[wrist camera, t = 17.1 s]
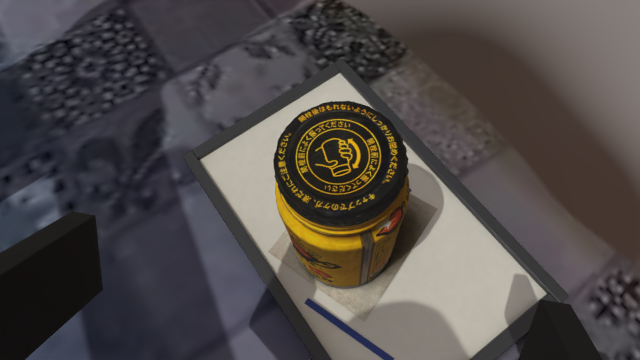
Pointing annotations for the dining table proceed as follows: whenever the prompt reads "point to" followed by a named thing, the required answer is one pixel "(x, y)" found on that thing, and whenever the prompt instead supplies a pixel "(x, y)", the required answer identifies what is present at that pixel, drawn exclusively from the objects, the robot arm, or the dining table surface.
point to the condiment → (346, 202)
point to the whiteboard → (416, 271)
